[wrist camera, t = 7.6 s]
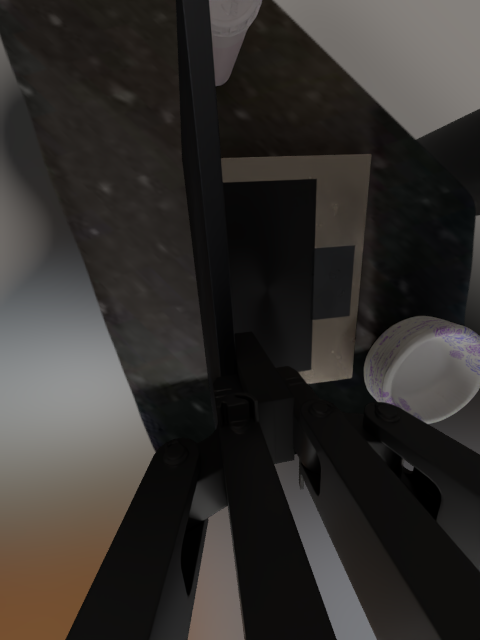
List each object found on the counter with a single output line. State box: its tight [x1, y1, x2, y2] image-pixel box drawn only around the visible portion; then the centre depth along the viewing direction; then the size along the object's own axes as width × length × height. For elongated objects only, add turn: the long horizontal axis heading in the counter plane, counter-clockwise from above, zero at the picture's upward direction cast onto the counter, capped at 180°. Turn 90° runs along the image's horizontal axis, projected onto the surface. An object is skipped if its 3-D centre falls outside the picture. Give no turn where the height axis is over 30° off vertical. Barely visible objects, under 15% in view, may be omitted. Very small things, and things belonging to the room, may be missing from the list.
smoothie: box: [209, 0, 262, 86], centre depth 19 cm, size 6×6×14 cm
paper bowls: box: [364, 316, 480, 424], centre depth 36 cm, size 15×15×8 cm
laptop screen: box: [176, 0, 237, 429], centre depth 21 cm, size 21×30×1 cm
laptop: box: [221, 154, 371, 384], centre depth 33 cm, size 21×30×2 cm
